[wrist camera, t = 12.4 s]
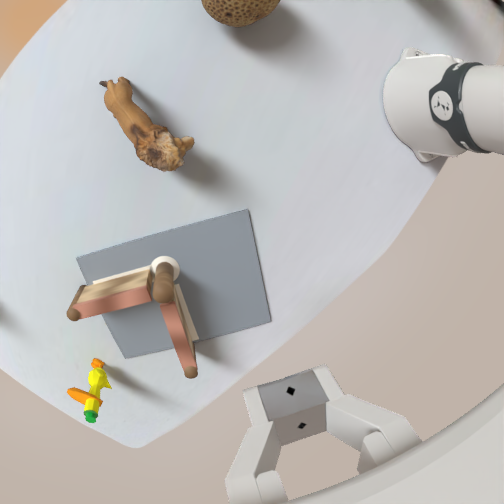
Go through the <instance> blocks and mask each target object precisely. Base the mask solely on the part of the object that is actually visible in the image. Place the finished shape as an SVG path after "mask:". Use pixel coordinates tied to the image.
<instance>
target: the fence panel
mask: <svg viewBox="0 0 504 504" xmlns="http://www.w3.org/2000/svg"><path fill="white" fill-rule="evenodd" d="M160 309H161V312H162V315H163V317H164V320H165V323H166V326H167V329H168V331H169V334H170V337H171V339H172V342H173V345H174V347H175V350H176V352H177V355H178V358H179V360H180V363H181V365H182V368H183V370H184V373H185V376H186V377H187V378H190V379H192V378H195V377H197V375H198V372H197V370H198V369H197V364H196V355H195V346H194V343H193V342H192V339H191V336H190V333H189V330H188V327H187V324H186V321H185V317H184V314H183V311H182V308H181V305H180V301H179V298H178V295H177V291H176V288H175V285H174V283H173V298H172V300H171V301H170V302H168V303H164V304H160Z"/></svg>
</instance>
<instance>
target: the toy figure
mask: <svg viewBox="0 0 504 504" xmlns="http://www.w3.org/2000/svg"><path fill="white" fill-rule="evenodd" d="M103 365H104V362H102V361H100V360H99V359H95V358H94V359H93V362H92V363H91V366H92V367H93V368H94V369H93V370H92V371H90V373H89V377H88V380H89V384H90V386H91V388H90V390H89V393H88V392H85V391H83V390H80V389H78V388H75V387H74V388H70V389H68V391H67V393H68V394H69V395H70V396H71V397H72V398H73V399H75V400H76V401H78V402H80V403H82V404H84V405H85V408H84V415H85V416H86V418H85V419H86V421H88V422H89V423H94V422H96V418H97V417H98V410H99V407H101V404H102V402H103V401H102V400H101V399H100V389H102V388H103V387H106V388H111V386H110V384H109V382H108V380H107V375H106V373H105V371H104V370H103V369H102V367H103ZM111 389H112V388H111Z"/></svg>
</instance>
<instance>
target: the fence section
mask: <svg viewBox="0 0 504 504" xmlns="http://www.w3.org/2000/svg"><path fill="white" fill-rule="evenodd" d="M173 279H174V268H173V266H172V265H171V264H170V263H168V262H161V263H159V264H158V265H157V267H156V272H155V279H154V287H153V298H154V299H155V301H157V302H158V303H162V304H164V303H168V302H170V301H171V300H172V298H173ZM152 280H153V278H152V276H151V273H150V270H149V269H147V270H144V271H140V272H137V273H133V274H129V275H126V276H122V277H119V278H115V279H111V280H108V281H104V282H101V283H97V284H92V285H89V286H86V285H82V286H80V288H79V290H78V291H77V293H76V295H75V297H74V299H73V301H72V303H71V305H70V307H69V309H68V311H67V317H68V318H69V319H70V320H72V321H77V320H79V319H83V318H87V317H91V316H95V315H99V314H103V313H107V312H111V311H115V310H119V309H123V308H127V307H131V306H135V305H139V304H143V303H147V302H150V301H152V297H151V294H150V293H151V286H152Z"/></svg>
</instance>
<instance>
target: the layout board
mask: <svg viewBox="0 0 504 504" xmlns="http://www.w3.org/2000/svg"><path fill="white" fill-rule="evenodd" d="M76 259H77V262H78V264H79V267H80V269H81V271H82V274H83V276H84V278H85V280H86V283H87V285H88V286H89V285H92V284H97V283H101V282H104V281H108V280H111V279H115V278H119V277H122V276H126V275H129V274H133V273H137V272H140V271H144V270H147V269H149V270H150V273H151V276H152V278H153V280H152V286H151V293H150V294H151V297H152V301H150V302H147V303H143V304H139V305H135V306H131V307H127V308H123V309H119V310H115V311H111V312H107V313H103V314H102V316H103V318H104V320H105V322H106V324H107V326H108V328H109V330H110V332H111V334H112V336H113V338H114V340H115V341H116V343H117V345H118V347H119V349H120V350H121V352H122V354H123V356H124V357H125V359H126V358H131V357H135V356H140V355H145V354H149V353H154V352H158V351H162V350H166V349H171V348H175V347H174V345H173V342H172V339H171V337H170V334H169V331H168V329H167V326H166V323H165V320H164V317H163V315H162V312H161V309H160V304H162V303H158V302H157V301H155V299H154V298H153V287H154V279H155V272H156V267H157V265H158V264H159V263H161V262H168V263H170V264H171V265H172V266H173V268H174V279H173V283H174V285H175V288H176V291H177V295H178V298H179V301H180V305H181V308H182V311H183V314H184V317H185V321H186V324H187V327H188V330H189V333H190V336H191V339H192V342H193V343H195V342H199V341H203V340H207V339H211V338H214V337H218V336H222V335H226V334H229V333H233V332H236V331H240V330H244V329H247V328H251V327H254V326H257V325H261V324H264V323H268V322H271V320H270V315H269V310H268V305H267V300H266V295H265V290H264V285H263V280H262V275H261V271H260V266H259V261H258V256H257V251H256V246H255V241H254V237H253V232H252V227H251V222H250V217H249V212H248V209H247V210H243V211H239V212H235V213H231V214H227V215H223V216H219V217H216V218H212V219H208V220H204V221H200V222H197V223H193V224H189V225H186V226H182V227H178V228H175V229H171V230H168V231H164V232H161V233H157V234H154V235H150V236H147V237H143V238H140V239H136V240H133V241H129V242H126V243H123V244H119V245H116V246H113V247H109V248H106V249H103V250H100V251H96V252H93V253H90V254H87V255H83V256H80V257H77V258H76Z"/></svg>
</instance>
